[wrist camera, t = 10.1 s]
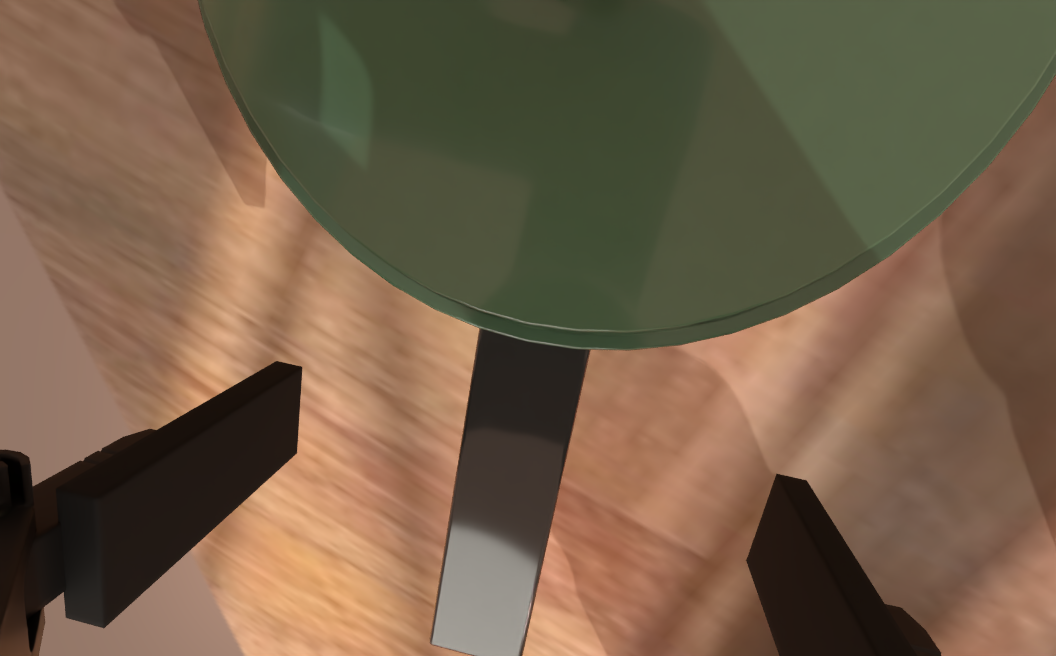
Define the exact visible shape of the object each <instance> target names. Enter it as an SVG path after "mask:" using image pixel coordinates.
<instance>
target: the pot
mask: <svg viewBox="0 0 1056 656" xmlns="http://www.w3.org/2000/svg"><path fill="white" fill-rule="evenodd" d="M198 3H199V7H200V11H201V15H202V19H203V22H204V26H205V29H206V32H207V35H208V37H209V40H210V43H211V45H212V48H213V50H214V53H215V56H216V58H217V61H218V64H219V66H220V69H221V72H222V74H223V77H224V79H225V82H226V84H227V86H228V88H229V90H230V92H231V94H232V96H233V98H234V100H235V102H236V104H237V106H238V108H239V110H240V112H241V114H242V116H243V118H244V120H245V122H246V124H247V126H248V128H249V130H250V132H251V133H252V135H253V137H254V138H255V140H256V141H257V143H258V144H259V146H260V147H261V149H262V150H263V152H264V153H265V155H266V156H267V158H268V159H269V161H270V162H271V164H272V166H273V167H274V169H275V170H276V172H277V173H278V175H279V176H280V178H281V179H282V180H283V182H284V183H285V184H286V185H287V186H288V188H289V189H290V190H291V191H292V192H293V194H294V195H295V196H296V197H297V198H298V200H299V201H300V202H301V203H302V204H303V206H304V207H305V208H306V209H307V211H308V212H309V213H310V214H311V215H312V217H313V218H314V219H315V220H316V221H317V222H318V223H319V224H320V225H321V226H322V227H323V228H324V229H325V230H327V231H328V232H329V233H330V234H331V235H332V236H333V237H334V238H335V239H336V240H337V241H338V242H339V243H340V244H341V245H342V246H343V247H344V248H345V249H346V250H347V251H349V252H350V253H351V254H352V255H353V256H354V257H356V258H357V259H358V260H360V261H361V262H362V263H364V264H365V265H366V266H368V267H369V268H370V269H372V270H373V271H374V272H376V273H377V274H378V275H380V276H381V277H382V278H384V279H385V280H386V281H388V282H389V283H390V284H392V285H393V286H395V287H397V288H398V289H400V290H402V291H404V292H405V293H407V294H409V295H411V296H412V297H414V298H416V299H417V300H419V301H421V302H423V303H424V304H426V305H428V306H430V307H431V308H433V309H435V310H437V311H440V312H442V313H444V314H447V315H449V316H451V317H454V318H456V319H459V320H461V321H463V322H466V323H468V324H470V325H473V326H475V327H478V328H479V335H478V341H477V347H476V353H475V360H474V366H473V372H472V378H471V385H470V391H469V397H468V403H467V410H466V416H465V422H464V428H463V435H462V441H461V447H460V453H459V460H458V466H457V472H456V478H455V485H454V491H453V497H452V503H451V510H450V516H449V522H448V528H447V535H446V541H445V547H444V553H443V560H442V566H441V572H440V578H439V585H438V591H437V597H436V603H435V610H434V616H433V622H432V628H431V635H430V644H432V645H434V646H438V647H441V648H445V649H449V650H453V651H457V652H460V653H464V654H468V655H472V656H522V655H523V651H524V646H525V642H526V637H527V633H528V628H529V624H530V619H531V615H532V610H533V606H534V601H535V597H536V592H537V588H538V583H539V579H540V574H541V570H542V565H543V561H544V556H545V552H546V547H547V543H548V538H549V534H550V529H551V525H552V520H553V516H554V511H555V507H556V503H557V498H558V494H559V489H560V485H561V480H562V476H563V471H564V467H565V462H566V458H567V453H568V449H569V444H570V440H571V435H572V431H573V426H574V422H575V417H576V413H577V408H578V404H579V399H580V395H581V390H582V386H583V381H584V377H585V372H586V368H587V364H588V359H589V355H590V350H625V351H628V350H638V349H648V348H658V347H669V346H679V345H683V344H688V343H692V342H697V341H701V340H706V339H710V338H715V337H719V336H724V335H728V334H732V333H735V332H738V331H741V330H744V329H747V328H749V327H752V326H755V325H758V324H761V323H764V322H767V321H769V320H772V319H775V318H778V317H781V316H784V315H786V314H788V313H790V312H792V311H794V310H796V309H798V308H800V307H802V306H804V305H806V304H808V303H811V302H813V301H815V300H817V299H819V298H821V297H823V296H825V295H827V294H829V293H831V292H833V291H835V290H837V289H839V288H840V287H842V286H843V285H845V284H847V283H848V282H850V281H851V280H853V279H854V278H856V277H858V276H859V275H861V274H862V273H864V272H865V271H867V270H869V269H870V268H872V267H873V266H875V265H876V264H878V263H879V262H881V261H883V260H884V259H886V258H887V257H889V256H890V255H891V254H893V253H894V252H895V251H896V250H898V249H899V248H900V247H901V246H903V245H904V244H905V243H906V242H908V241H909V240H910V239H911V238H912V237H914V236H915V235H916V234H917V233H919V232H920V231H921V230H922V229H924V228H925V227H926V226H927V225H929V224H930V223H931V222H932V221H934V220H935V219H936V218H937V217H938V216H940V215H941V214H942V213H943V212H944V211H945V210H946V209H947V208H948V207H949V206H950V205H951V204H952V203H953V202H954V201H955V200H956V199H957V198H958V197H959V196H960V195H961V194H962V193H963V192H964V191H965V190H966V189H967V188H968V187H969V186H970V185H971V184H972V183H973V182H974V181H975V180H976V179H977V178H978V177H979V176H980V174H981V173H982V172H983V171H984V170H985V169H986V168H987V167H988V166H989V165H990V164H991V163H992V161H993V160H994V159H995V158H996V156H997V155H998V154H999V153H1000V151H1001V150H1002V149H1003V148H1004V146H1005V145H1006V144H1007V143H1008V141H1009V140H1010V139H1011V138H1012V136H1013V135H1014V134H1015V132H1016V131H1017V130H1018V129H1019V127H1020V126H1021V125H1022V124H1023V122H1024V121H1025V120H1026V119H1027V117H1028V116H1029V115H1030V114H1031V112H1032V111H1033V110H1034V108H1035V107H1036V105H1037V103H1038V102H1039V100H1040V99H1041V97H1042V96H1043V94H1044V92H1045V91H1046V89H1047V88H1048V86H1049V84H1050V83H1051V81H1052V80H1053V78H1054V77H1055V75H1056V0H198Z"/></svg>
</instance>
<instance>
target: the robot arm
mask: <svg viewBox="0 0 1056 656" xmlns="http://www.w3.org/2000/svg"><path fill="white" fill-rule="evenodd" d="M301 380H302V367H301V366H296V365H292V364H287V363H283V362H279V361H276V362H274V363H272V364H271V365H269V366H267V367H265V368H264V369H262V370H260V371H259V372H257V373H255V374H253V375H252V376H250V377H248V378H246V379H245V380H243V381H241V382H239V383H238V384H236V385H234V386H233V387H231V388H229V389H227V390H226V391H224V392H222V393H220V394H219V395H217V396H215V397H213V398H212V399H210V400H208V401H206V402H205V403H203V404H201V405H200V406H198V407H196V408H194V409H193V410H191V411H189V412H187V413H186V414H184V415H182V416H180V417H179V418H177V419H175V420H174V421H172V422H170V423H168V424H167V425H165V426H163V427H161V428H160V429H158V430H153V429H148V430H144V431H141V432H138V433H135V434H131V435H128V436H125V437H122V438H120V439H119V440H117V441H115V442H113V443H111V444H110V445H108V446H106V447H104V448H102V450H101V452H100V451H97V452H95V453H93V454H91V455H90V456H88V457H86V458H85V459H84V461H79V462H77V463H75V464H73V465H71V466H70V467H68V468H66V469H64V470H62V471H61V472H59V473H57V474H55V475H53V476H52V477H50V478H48V479H46V480H44V481H42V482H41V483H39V484H37V485H35V486H33V487H32V476H31V465H30V460H29V457H28V456H26V455H24V454H23V453H21V452H16V451H10V450H0V656H39V651H40V646H41V640H42V636H43V630H44V625H45V616H44V606H45V605H47V604H48V603H49V602H51V601H52V600H54V599H55V598H56V597H57V596H58V595H60V594H61V593H63V592H64V600H65V611H66V618H69V619H72V620H76V621H80V622H83V623H87V624H91V625H94V626H98V627H102V628H105V627H106V626H107V625H108V624H109V623H110V622H111V621H112V620H114V619H115V618H116V617H117V616H118V615H119V614H120V613H121V612H122V611H124V610H125V609H126V608H127V607H128V606H129V605H130V604H131V603H132V602H133V601H135V599H137V598H138V597H139V596H140V595H141V594H142V593H143V592H144V591H145V590H146V589H148V588H149V587H150V586H151V585H152V584H153V583H154V582H155V581H157V580H158V579H159V578H160V577H161V576H162V575H163V574H164V573H165V572H167V571H168V570H169V569H170V568H171V567H172V566H173V565H174V564H175V563H176V562H177V561H179V560H180V559H181V558H182V557H183V556H184V555H185V554H186V553H187V552H189V551H190V550H191V549H192V548H193V547H194V546H195V545H196V544H197V543H198V542H200V541H201V540H202V539H203V538H204V537H205V536H206V535H207V534H208V533H209V532H211V531H212V530H213V529H214V528H215V527H216V526H217V525H218V524H219V523H220V522H222V521H223V520H224V519H225V518H226V517H227V516H228V515H229V514H230V513H232V512H233V511H234V510H235V509H236V508H237V507H238V506H239V505H240V504H241V503H243V502H244V501H245V500H246V499H247V498H248V497H249V496H250V495H251V494H252V493H254V492H255V491H256V490H257V489H258V488H259V487H260V486H261V485H262V484H263V483H265V482H266V481H267V480H268V479H269V478H270V477H271V476H272V475H273V474H274V473H276V472H277V471H278V470H279V469H280V468H281V467H282V466H283V465H284V464H285V463H287V462H288V461H289V460H290V459H291V458H292V457H293V456H294V455H295V454H297V442H298V427H299V411H300V395H301ZM746 561H747V564H748V567H749V570H750V573H751V575H752V578H753V581H754V584H755V587H756V590H757V593H758V595H759V598H760V601H761V604H762V607H763V610H764V613H765V616H766V618H767V621H768V624H769V627H770V630H771V633H772V636H773V639H774V641H775V644H776V647H777V650H778V653H779V656H941V652H940V650H939V649H938V648H937V646H936V645H935V643H934V642H933V640H932V639H931V637H930V636H929V634H928V633H927V632H926V630H925V629H924V628H923V627H922V626H921V625H920V624H918V623H917V622H916V621H915V620H914V619H913V618H912V617H911V616H910V615H909V614H908V613H907V612H906V611H904V610H903V609H902V608H900V607H896V606H891V605H887V604H884V602H883V601H882V599H881V597H880V596H879V594H878V593H877V591H876V590H875V588H874V586H873V585H872V583H871V582H870V580H869V578H868V577H867V575H866V574H865V572H864V571H863V569H862V567H861V566H860V564H859V563H858V561H857V560H856V558H855V556H854V555H853V553H852V552H851V550H850V548H849V547H848V545H847V544H846V542H845V541H844V539H843V537H842V536H841V534H840V533H839V531H838V529H837V528H836V526H835V525H834V523H833V522H832V520H831V518H830V517H829V515H828V514H827V512H826V510H825V509H824V507H823V506H822V504H821V503H820V501H819V499H818V498H817V496H816V495H815V493H814V491H813V490H812V488H811V487H810V485H809V484H808V482H807V480H802V479H798V478H793V477H789V476H784V475H780V474H776V477H775V480H774V483H773V486H772V489H771V492H770V494H769V497H768V500H767V503H766V506H765V509H764V512H763V514H762V517H761V520H760V523H759V526H758V529H757V532H756V534H755V537H754V540H753V543H752V546H751V549H750V552H749V555H748V557H747V560H746Z"/></svg>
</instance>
